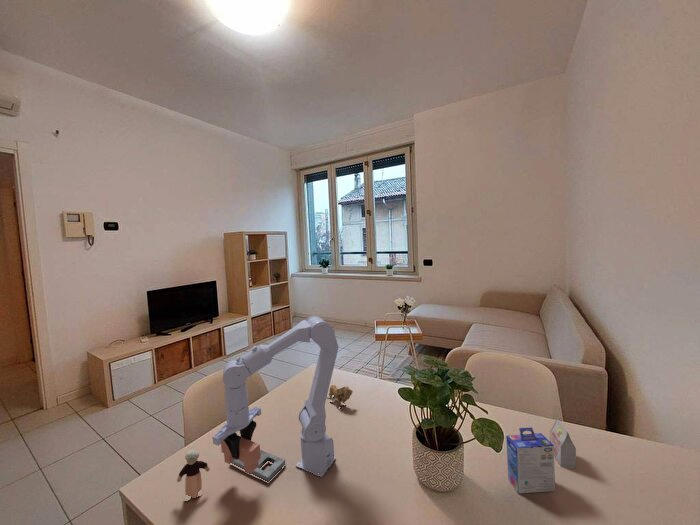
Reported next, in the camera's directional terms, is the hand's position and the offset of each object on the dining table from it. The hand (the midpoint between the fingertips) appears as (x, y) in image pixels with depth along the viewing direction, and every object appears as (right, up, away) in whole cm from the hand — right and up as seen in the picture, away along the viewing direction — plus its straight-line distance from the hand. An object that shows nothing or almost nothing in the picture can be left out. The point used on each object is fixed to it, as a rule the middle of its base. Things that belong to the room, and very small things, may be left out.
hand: (241, 453), depth 78 cm
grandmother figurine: (-12, -11, -2) cm, 16 cm away
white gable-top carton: (+92, -5, +5) cm, 93 cm away
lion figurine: (+26, -6, +39) cm, 47 cm away
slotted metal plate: (+2, -9, +8) cm, 12 cm away
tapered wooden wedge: (0, -3, 0) cm, 3 cm away
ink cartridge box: (+78, -6, -3) cm, 78 cm away
